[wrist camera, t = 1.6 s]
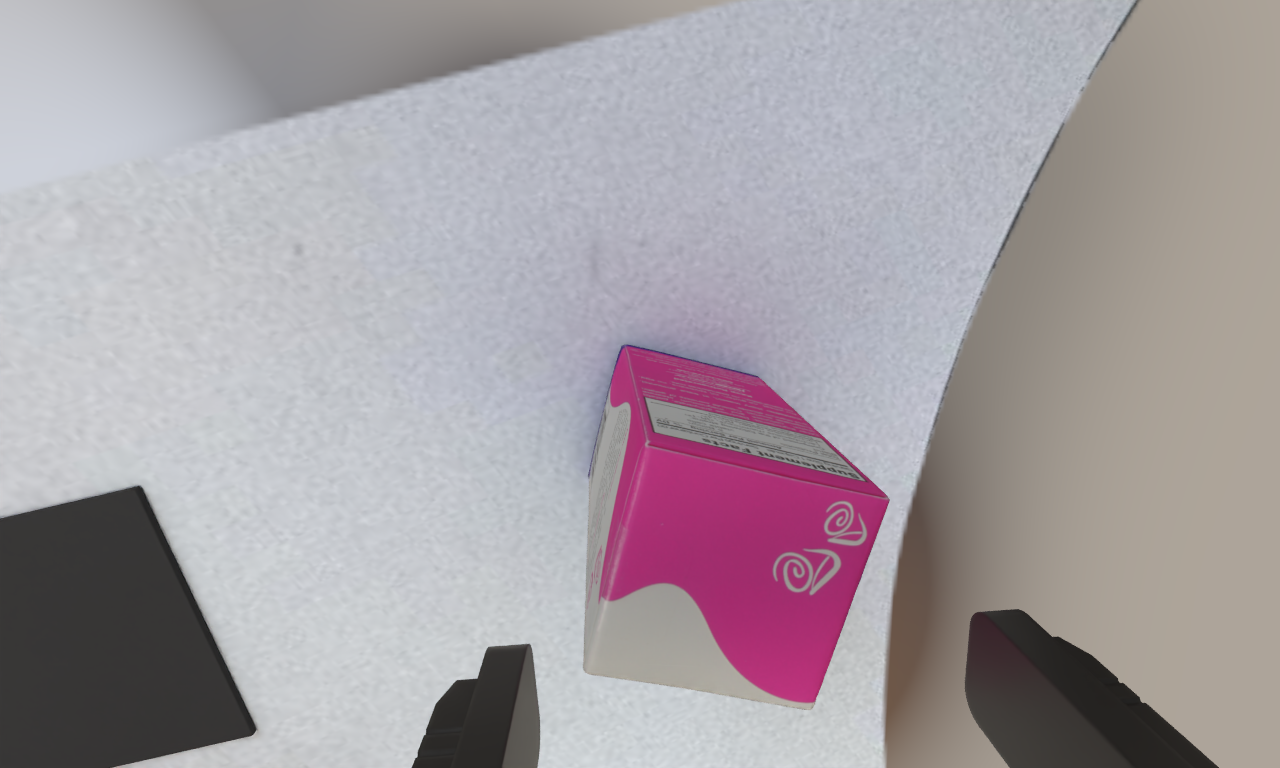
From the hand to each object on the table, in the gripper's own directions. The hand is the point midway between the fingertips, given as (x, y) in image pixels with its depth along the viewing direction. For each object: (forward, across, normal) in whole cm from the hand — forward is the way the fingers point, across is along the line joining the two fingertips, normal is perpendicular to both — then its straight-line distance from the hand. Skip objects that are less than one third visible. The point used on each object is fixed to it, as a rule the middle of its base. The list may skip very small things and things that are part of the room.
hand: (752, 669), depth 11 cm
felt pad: (+14, +26, +8) cm, 31 cm away
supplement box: (+14, 0, 0) cm, 14 cm away
